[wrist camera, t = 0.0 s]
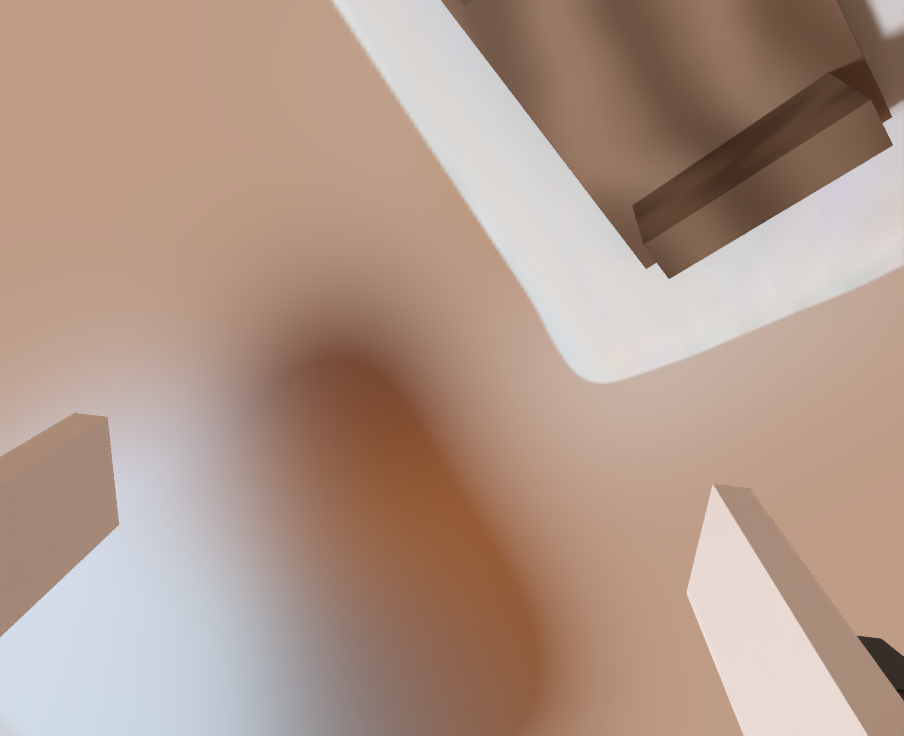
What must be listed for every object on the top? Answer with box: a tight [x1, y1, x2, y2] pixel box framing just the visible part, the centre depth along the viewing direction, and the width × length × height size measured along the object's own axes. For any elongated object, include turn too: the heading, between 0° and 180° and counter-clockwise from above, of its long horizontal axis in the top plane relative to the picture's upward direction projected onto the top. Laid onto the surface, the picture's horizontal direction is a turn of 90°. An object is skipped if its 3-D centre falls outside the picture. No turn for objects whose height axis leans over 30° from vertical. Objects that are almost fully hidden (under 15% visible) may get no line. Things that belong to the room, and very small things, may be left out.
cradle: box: [441, 0, 893, 279], centre depth 29 cm, size 14×22×6 cm, turn 41°
